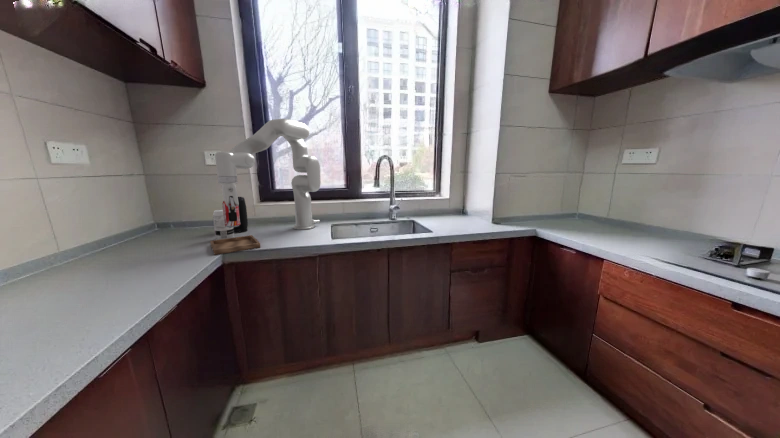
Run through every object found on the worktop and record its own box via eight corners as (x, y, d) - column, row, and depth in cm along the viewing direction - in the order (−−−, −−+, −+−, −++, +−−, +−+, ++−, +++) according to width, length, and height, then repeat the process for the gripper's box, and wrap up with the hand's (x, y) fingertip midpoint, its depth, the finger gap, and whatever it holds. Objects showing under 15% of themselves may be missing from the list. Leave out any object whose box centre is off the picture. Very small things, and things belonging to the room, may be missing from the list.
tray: (252, 239, 139) (251, 235, 139) (260, 247, 125) (260, 243, 125) (210, 245, 128) (210, 240, 128) (214, 255, 114) (214, 250, 114)
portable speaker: (228, 233, 150) (224, 198, 147) (235, 229, 159) (231, 196, 156) (245, 232, 152) (241, 198, 148) (250, 229, 161) (247, 196, 157)
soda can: (238, 227, 122) (236, 200, 120) (223, 228, 120) (219, 201, 118) (242, 224, 128) (239, 199, 126) (227, 225, 126) (224, 199, 124)
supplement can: (213, 239, 138) (210, 210, 135) (231, 236, 144) (228, 208, 141) (218, 242, 133) (215, 212, 130) (237, 239, 139) (233, 210, 136)
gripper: (240, 180, 116) (244, 222, 120) (234, 179, 129) (238, 216, 133) (220, 181, 112) (225, 224, 115) (215, 179, 125) (220, 218, 128)
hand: (232, 219), depth 124 cm, fingers closed on soda can, 5 cm apart
